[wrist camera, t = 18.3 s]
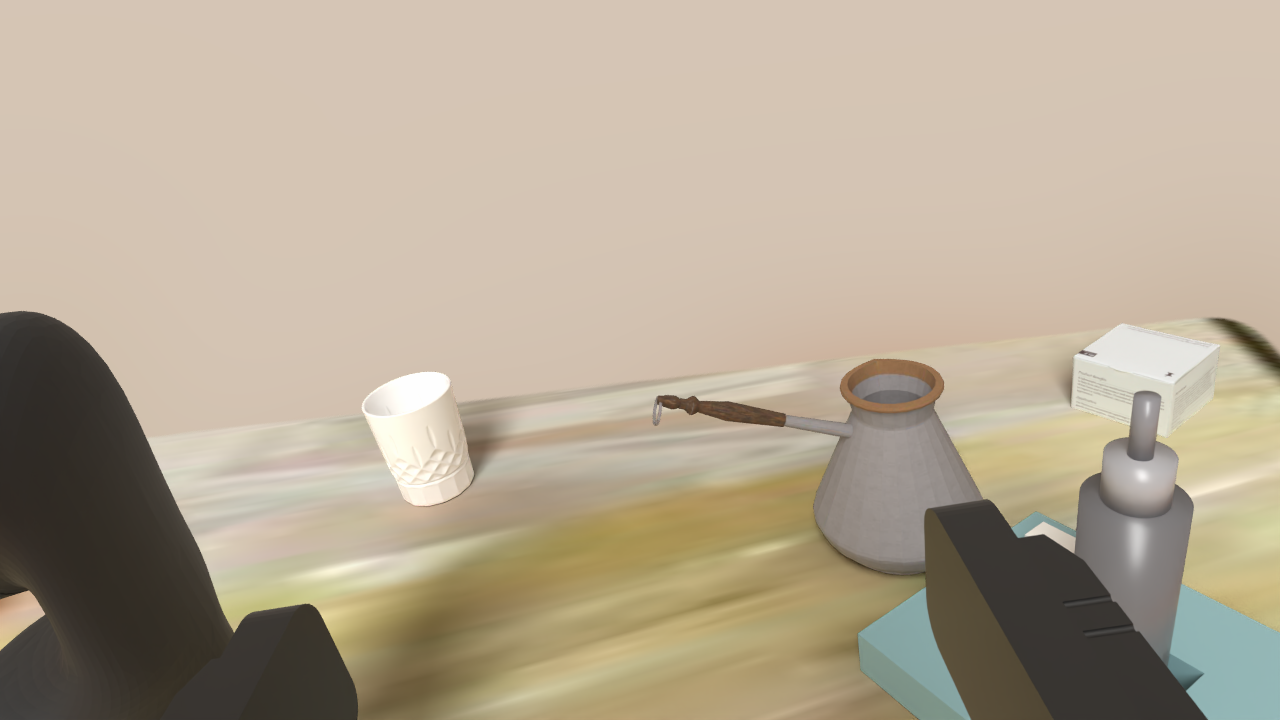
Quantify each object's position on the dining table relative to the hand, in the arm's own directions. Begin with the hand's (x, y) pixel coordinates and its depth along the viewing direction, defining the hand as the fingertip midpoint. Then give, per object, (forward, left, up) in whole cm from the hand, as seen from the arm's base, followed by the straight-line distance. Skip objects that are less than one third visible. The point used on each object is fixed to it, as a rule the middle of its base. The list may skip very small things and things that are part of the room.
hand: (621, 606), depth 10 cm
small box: (-23, +57, -32) cm, 69 cm away
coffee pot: (-27, +26, -32) cm, 50 cm away
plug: (-8, +28, -32) cm, 43 cm away
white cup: (-58, +6, -32) cm, 67 cm away
